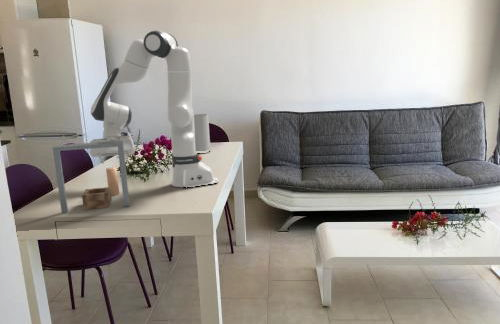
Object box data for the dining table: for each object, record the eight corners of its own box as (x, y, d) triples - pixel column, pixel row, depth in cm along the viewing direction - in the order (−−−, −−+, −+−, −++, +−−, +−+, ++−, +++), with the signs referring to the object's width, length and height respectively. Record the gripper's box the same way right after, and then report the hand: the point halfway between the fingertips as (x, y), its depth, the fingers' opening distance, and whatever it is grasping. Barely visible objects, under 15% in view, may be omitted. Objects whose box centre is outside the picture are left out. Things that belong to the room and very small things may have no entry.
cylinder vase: (194, 150, 298) (191, 114, 293) (212, 150, 296) (210, 113, 291) (189, 154, 286) (186, 116, 281) (208, 153, 284) (205, 115, 279)
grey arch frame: (130, 202, 182) (123, 140, 176) (129, 206, 177) (122, 142, 171) (64, 209, 177) (55, 145, 172) (61, 213, 172) (52, 147, 166)
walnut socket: (112, 200, 187) (110, 186, 185) (109, 207, 177) (107, 193, 176) (87, 202, 185) (85, 189, 183) (83, 209, 175) (82, 195, 174)
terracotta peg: (119, 192, 199) (117, 167, 196) (119, 195, 194) (116, 169, 192) (109, 193, 198) (106, 167, 195) (108, 196, 194) (105, 170, 191)
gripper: (88, 135, 204) (87, 159, 197) (133, 132, 208) (134, 156, 201) (91, 143, 210) (90, 167, 202) (134, 140, 213) (135, 164, 206)
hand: (112, 162), depth 202 cm, fingers open, 8 cm apart
